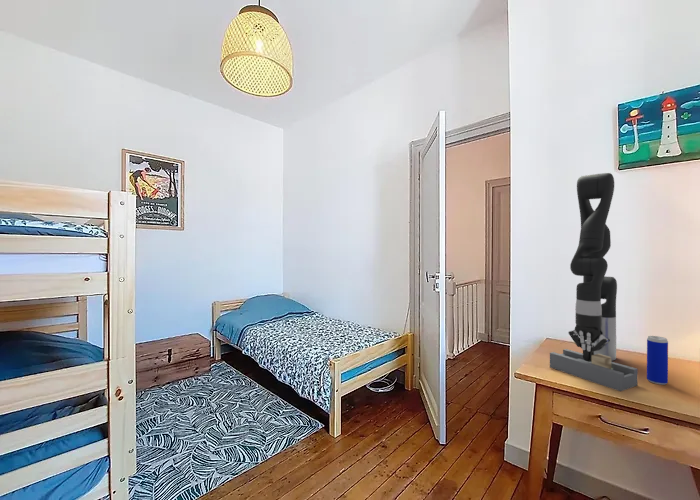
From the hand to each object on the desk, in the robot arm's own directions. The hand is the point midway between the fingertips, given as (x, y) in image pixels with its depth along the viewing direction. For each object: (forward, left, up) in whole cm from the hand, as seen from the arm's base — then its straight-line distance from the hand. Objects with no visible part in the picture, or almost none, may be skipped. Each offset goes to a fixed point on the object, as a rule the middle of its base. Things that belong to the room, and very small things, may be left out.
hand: (588, 360), depth 117 cm
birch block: (0, +4, -1) cm, 4 cm away
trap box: (0, +1, -5) cm, 5 cm away
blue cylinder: (-14, +14, -5) cm, 20 cm away
